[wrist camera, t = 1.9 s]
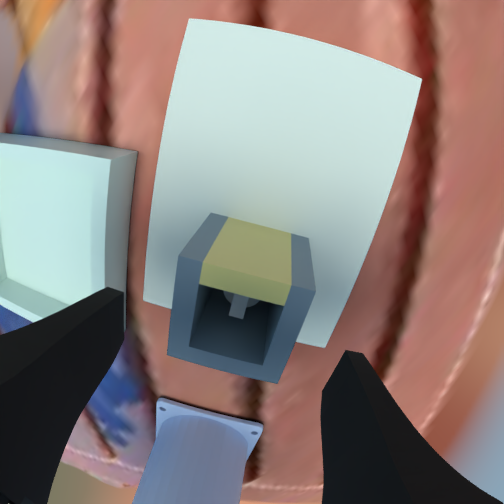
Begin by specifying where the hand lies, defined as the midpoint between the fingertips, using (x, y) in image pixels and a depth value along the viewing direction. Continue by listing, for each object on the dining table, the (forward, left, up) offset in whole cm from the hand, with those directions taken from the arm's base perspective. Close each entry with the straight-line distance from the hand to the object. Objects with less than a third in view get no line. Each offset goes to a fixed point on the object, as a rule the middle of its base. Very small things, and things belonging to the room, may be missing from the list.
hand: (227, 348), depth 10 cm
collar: (0, 0, -6) cm, 6 cm away
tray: (-2, +12, -7) cm, 14 cm away
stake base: (+3, 0, -7) cm, 7 cm away
